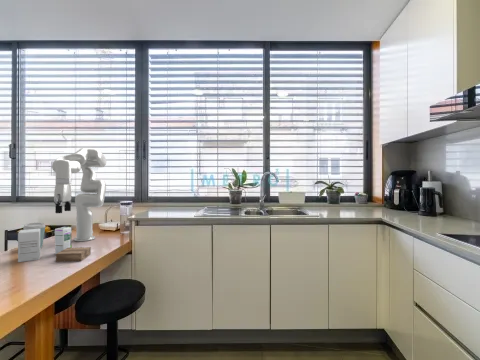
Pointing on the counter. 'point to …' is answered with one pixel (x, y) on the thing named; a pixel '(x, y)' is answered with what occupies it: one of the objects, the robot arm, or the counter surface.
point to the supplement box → (28, 245)
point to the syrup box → (62, 239)
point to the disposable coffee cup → (36, 226)
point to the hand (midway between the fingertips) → (63, 212)
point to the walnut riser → (73, 254)
